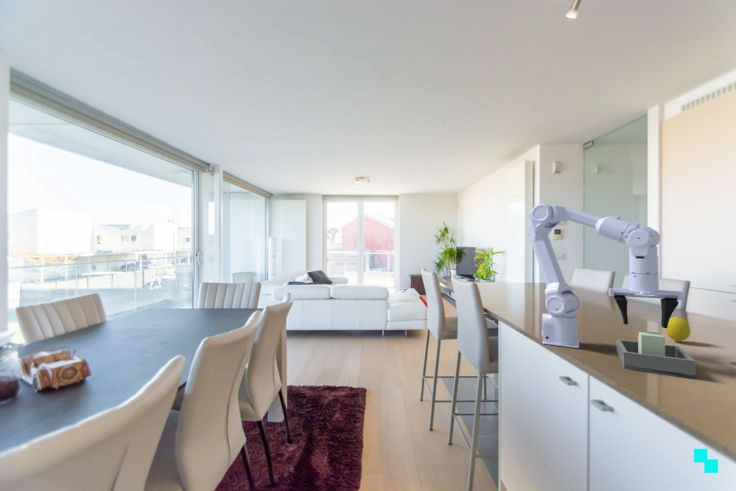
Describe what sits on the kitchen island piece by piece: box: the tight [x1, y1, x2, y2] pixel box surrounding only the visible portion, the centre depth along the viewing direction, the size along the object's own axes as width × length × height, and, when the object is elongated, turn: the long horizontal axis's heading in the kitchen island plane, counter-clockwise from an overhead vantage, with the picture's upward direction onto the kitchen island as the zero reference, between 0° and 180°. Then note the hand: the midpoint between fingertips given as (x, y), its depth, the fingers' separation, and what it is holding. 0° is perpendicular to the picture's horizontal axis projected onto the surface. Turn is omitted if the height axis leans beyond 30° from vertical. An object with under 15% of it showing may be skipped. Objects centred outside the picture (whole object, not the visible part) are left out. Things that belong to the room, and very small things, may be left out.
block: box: [637, 330, 666, 356], centre depth 80 cm, size 4×4×7 cm
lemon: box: [664, 315, 691, 343], centre depth 98 cm, size 6×6×8 cm
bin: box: [615, 338, 697, 380], centre depth 80 cm, size 13×13×4 cm
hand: (644, 325), depth 82 cm, fingers open, 7 cm apart
